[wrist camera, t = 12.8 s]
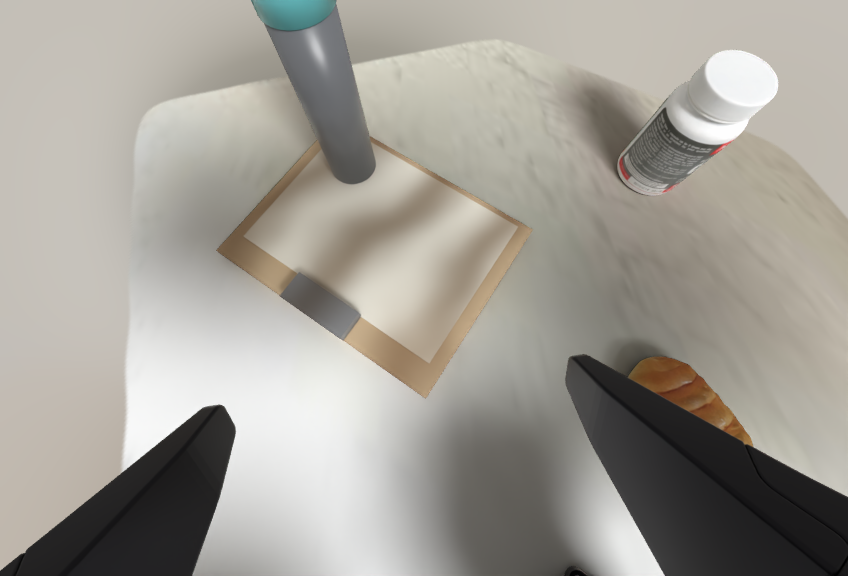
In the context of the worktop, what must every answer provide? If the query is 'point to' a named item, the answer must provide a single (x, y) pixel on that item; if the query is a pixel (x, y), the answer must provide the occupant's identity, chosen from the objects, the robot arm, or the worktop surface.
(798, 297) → the worktop surface
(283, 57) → the ball
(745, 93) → the pill bottle
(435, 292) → the clipboard
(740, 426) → the pastry
